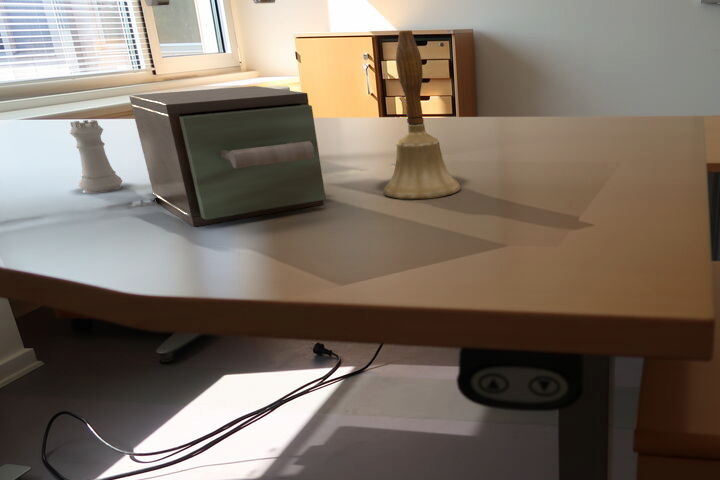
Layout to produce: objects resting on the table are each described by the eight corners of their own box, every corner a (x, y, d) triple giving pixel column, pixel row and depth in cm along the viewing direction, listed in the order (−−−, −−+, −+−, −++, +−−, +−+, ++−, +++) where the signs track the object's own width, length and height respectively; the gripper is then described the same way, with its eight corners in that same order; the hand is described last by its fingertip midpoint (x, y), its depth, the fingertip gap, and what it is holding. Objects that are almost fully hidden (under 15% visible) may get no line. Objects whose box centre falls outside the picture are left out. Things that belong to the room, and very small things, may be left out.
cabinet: (324, 204, 76) (307, 93, 71) (193, 227, 68) (165, 104, 64) (272, 184, 86) (255, 85, 82) (155, 201, 79) (128, 95, 75)
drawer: (346, 207, 70) (333, 108, 66) (221, 229, 63) (198, 121, 60) (276, 180, 83) (262, 97, 79) (167, 196, 77) (145, 106, 73)
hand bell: (445, 200, 76) (431, 30, 69) (370, 198, 78) (350, 32, 71) (470, 183, 83) (460, 28, 76) (402, 182, 85) (386, 30, 78)
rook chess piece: (73, 197, 82) (51, 123, 79) (113, 190, 85) (93, 118, 82) (94, 202, 80) (73, 125, 76) (134, 194, 83) (115, 120, 80)
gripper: (280, -163, 68) (306, 3, 74) (24, -193, 56) (79, 9, 62) (311, -178, 64) (336, 0, 70) (40, -213, 52) (99, 5, 58)
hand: (213, 4), depth 66 cm, fingers open, 8 cm apart
